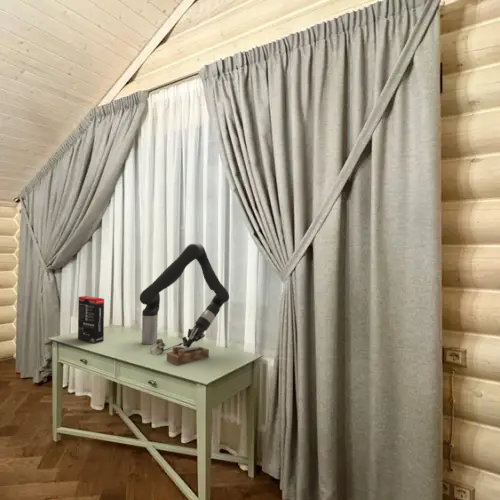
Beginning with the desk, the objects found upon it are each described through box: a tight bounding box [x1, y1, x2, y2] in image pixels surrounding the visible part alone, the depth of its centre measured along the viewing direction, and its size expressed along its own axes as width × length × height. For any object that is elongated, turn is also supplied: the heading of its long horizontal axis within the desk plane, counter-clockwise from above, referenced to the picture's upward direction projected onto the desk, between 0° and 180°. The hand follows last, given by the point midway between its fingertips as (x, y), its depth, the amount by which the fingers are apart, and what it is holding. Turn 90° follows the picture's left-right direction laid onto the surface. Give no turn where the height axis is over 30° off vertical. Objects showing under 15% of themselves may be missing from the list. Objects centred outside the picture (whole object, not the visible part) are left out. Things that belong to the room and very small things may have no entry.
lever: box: [175, 345, 202, 350], centre depth 179 cm, size 14×3×1 cm, turn 135°
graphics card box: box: [77, 295, 105, 344], centre depth 210 cm, size 17×7×27 cm, turn 63°
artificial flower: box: [148, 336, 188, 356], centre depth 193 cm, size 9×22×10 cm, turn 124°
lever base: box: [166, 345, 210, 366], centre depth 179 cm, size 20×10×7 cm, turn 135°
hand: (186, 346), depth 178 cm, fingers closed
